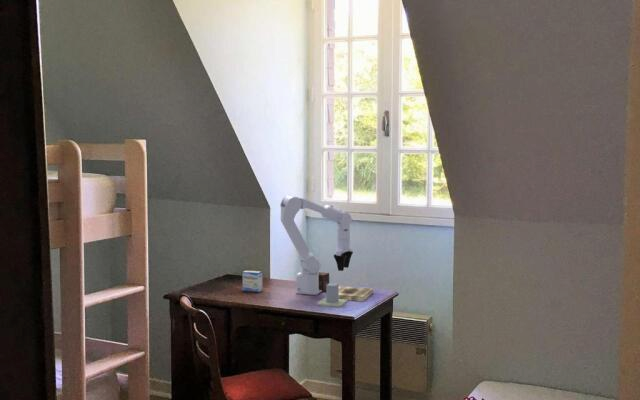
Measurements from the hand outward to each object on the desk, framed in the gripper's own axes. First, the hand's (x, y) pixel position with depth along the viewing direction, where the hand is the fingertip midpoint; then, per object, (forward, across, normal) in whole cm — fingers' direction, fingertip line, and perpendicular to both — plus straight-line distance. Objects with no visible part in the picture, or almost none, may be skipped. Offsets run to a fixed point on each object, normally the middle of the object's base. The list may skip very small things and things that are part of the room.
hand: (343, 269), depth 316 cm
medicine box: (+10, -14, +38) cm, 42 cm away
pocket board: (+9, -10, -6) cm, 15 cm away
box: (+10, -2, +10) cm, 14 cm away
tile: (+9, -25, -3) cm, 27 cm away
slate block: (+9, -25, -3) cm, 27 cm away
